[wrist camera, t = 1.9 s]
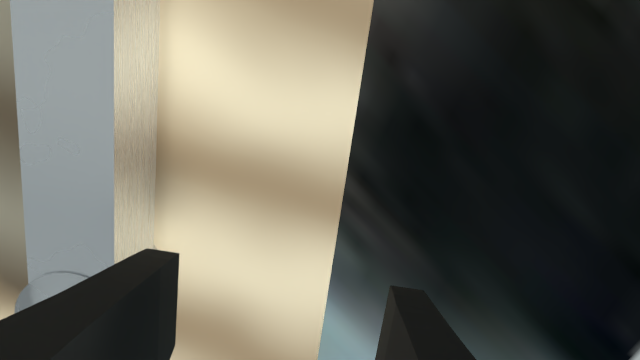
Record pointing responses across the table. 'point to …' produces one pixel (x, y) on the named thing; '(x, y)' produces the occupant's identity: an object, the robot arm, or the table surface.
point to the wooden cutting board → (234, 168)
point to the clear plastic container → (85, 135)
